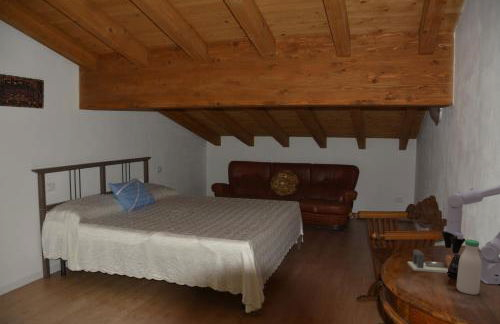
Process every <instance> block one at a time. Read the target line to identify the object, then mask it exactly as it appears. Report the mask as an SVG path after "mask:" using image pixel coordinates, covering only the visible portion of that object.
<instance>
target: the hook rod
mask: <svg viewBox="0 0 500 324" xmlns="http://www.w3.org/2000/svg"><path fill="white" fill-rule="evenodd" d="M454 256H455V255H453V254H446V255H445V262H443V261H442V262H441V261H429V260H428V261H425V260H424V263H425V265H427V266H442V267H447V268H449V265H450V263H451V261H452V259H453V257H454Z"/></svg>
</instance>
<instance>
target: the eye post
mask: <svg viewBox="0 0 500 324" xmlns="http://www.w3.org/2000/svg"><path fill="white" fill-rule="evenodd" d="M412 262H413V264H417V266H416V267H417V268H423V266H424V263H425V253H423V252H422V251H421V250H420V249H413V252H412Z"/></svg>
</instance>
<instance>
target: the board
mask: <svg viewBox="0 0 500 324" xmlns="http://www.w3.org/2000/svg"><path fill="white" fill-rule="evenodd" d="M407 265H408V266H409V267H410V268H411V269H412V270H413V271H415V272H425V273H426V272H427V273H429V272H430V273H439V274H440V273H441V274H442V273H444V274H448V273H447V272H448V268H447V267H442V266H427V265H425V262H424V266H423V268H417V267H416V266H417V264H413V261H407Z"/></svg>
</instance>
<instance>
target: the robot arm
mask: <svg viewBox="0 0 500 324" xmlns="http://www.w3.org/2000/svg"><path fill="white" fill-rule="evenodd" d="M499 195H500V185H497V186H493V187H489V188H485V189H482V190H481V189H479V188H474V187H470V188H469V190H468V189H467V190H464V191H458V192H456V193H452V194H450V195H448V197H447V205H448V208H447V215H446V216H447V217H446V225H444V226H443V229H442V231H441V235H442V237H443V241H444V247H445V249H452V250H451V252H452V254H459V253H460V250H461V247H462V245H463V244H465V241H466V239H465V238H464V234H463V233H462V220H463V206H465V205H466V206H467V205H471V204H475V203H480V202H483V199H484V198H488V197H493V196H499ZM480 259H481V278H480V282H481V281H482V282H483V283H484V284H486V285H498V284H500V231H499V232H498V233H497V234H496V235H495V237H494V238H493V239H492V240H491V241H487V242H486V244H485V245H483V247H481V249H480Z"/></svg>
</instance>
